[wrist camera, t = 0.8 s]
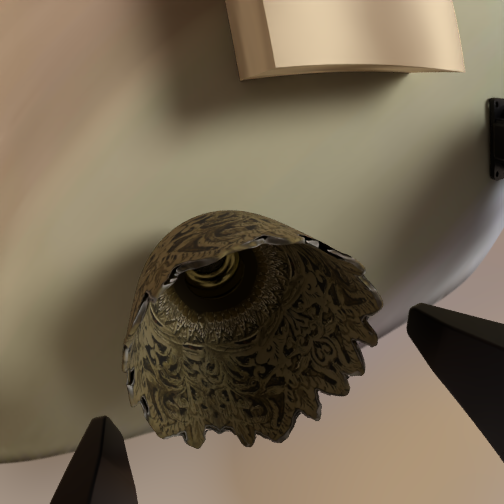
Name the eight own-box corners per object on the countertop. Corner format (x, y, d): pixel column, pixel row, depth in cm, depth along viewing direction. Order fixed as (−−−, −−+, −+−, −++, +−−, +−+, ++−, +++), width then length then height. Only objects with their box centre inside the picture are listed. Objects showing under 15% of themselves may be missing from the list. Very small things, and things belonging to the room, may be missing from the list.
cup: (108, 302, 14) (100, 440, 7) (161, 152, 13) (181, 191, 6) (244, 335, 18) (305, 451, 11) (306, 212, 16) (421, 288, 9)
